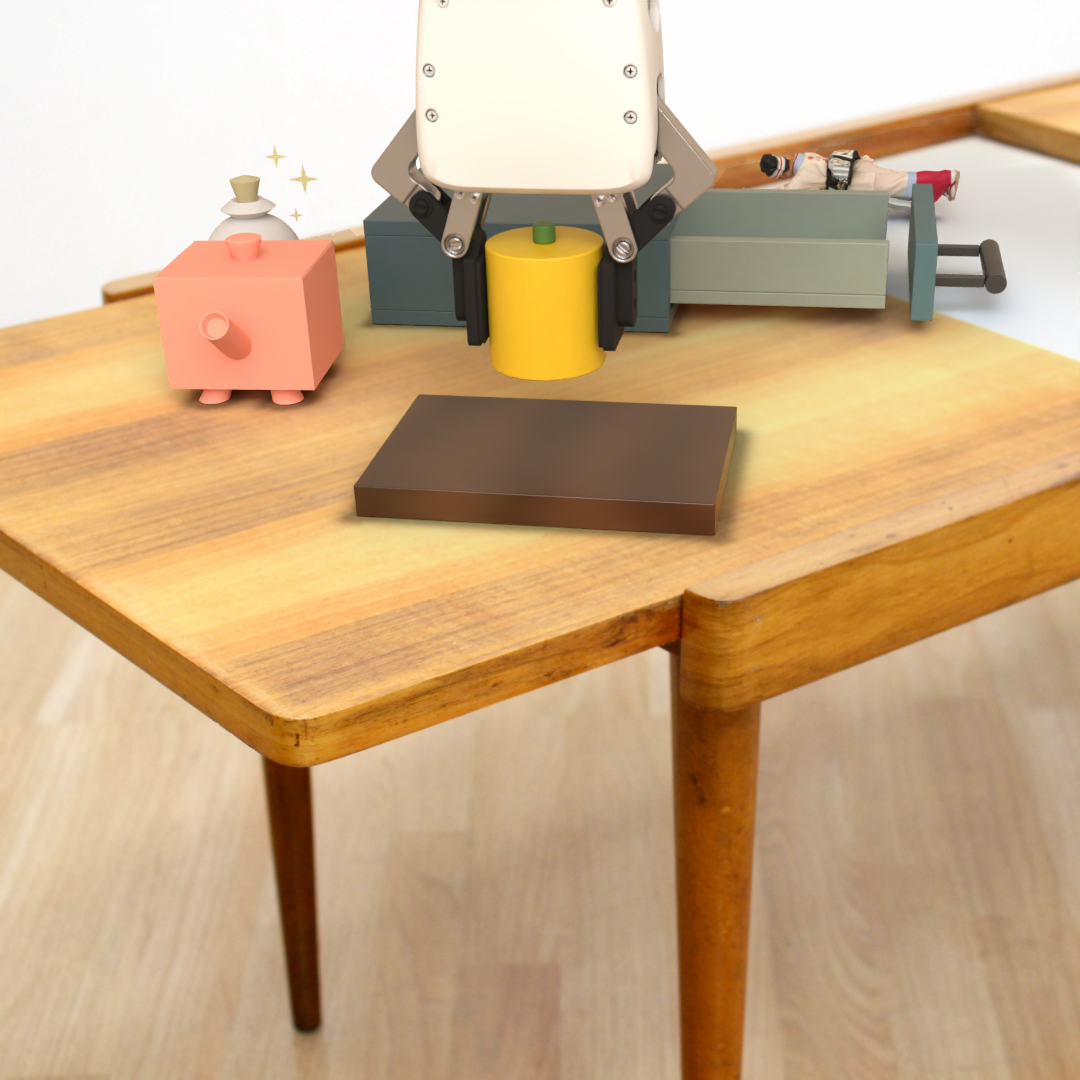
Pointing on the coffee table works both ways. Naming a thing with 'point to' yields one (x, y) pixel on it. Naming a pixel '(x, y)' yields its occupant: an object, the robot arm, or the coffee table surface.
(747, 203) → the drawer
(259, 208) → the corked potion bottle
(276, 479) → the coffee table surface
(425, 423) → the board
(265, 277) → the pink cube teapot
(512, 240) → the pepper
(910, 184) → the figurine
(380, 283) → the cabinet
